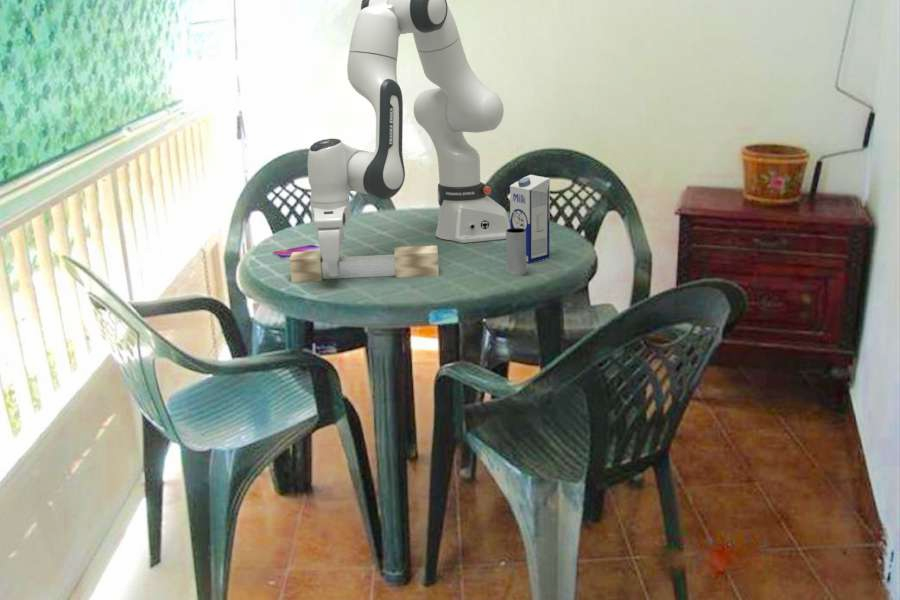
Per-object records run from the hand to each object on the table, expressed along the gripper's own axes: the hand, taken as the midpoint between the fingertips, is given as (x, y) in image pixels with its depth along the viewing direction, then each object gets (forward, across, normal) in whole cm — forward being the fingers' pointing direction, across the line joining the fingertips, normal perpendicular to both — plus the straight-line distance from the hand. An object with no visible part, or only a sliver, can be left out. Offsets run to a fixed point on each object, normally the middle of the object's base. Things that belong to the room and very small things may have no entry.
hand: (335, 269), depth 196 cm
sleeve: (+2, 0, +19) cm, 19 cm away
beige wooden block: (+2, 0, -6) cm, 7 cm away
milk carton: (+2, -8, +47) cm, 48 cm away
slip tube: (+2, 0, +5) cm, 5 cm away
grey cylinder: (+2, +4, +42) cm, 42 cm away
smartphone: (+2, -24, -10) cm, 26 cm away
